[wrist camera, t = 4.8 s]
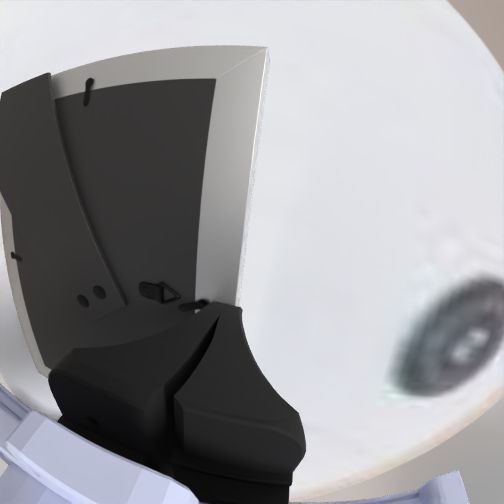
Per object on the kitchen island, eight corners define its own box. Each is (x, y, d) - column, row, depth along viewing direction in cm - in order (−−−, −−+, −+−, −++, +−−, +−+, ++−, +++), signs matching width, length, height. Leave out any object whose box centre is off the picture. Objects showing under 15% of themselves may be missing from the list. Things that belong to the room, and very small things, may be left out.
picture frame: (31, 96, 11) (51, 359, 17) (1, 92, 8) (33, 377, 14) (270, 66, 10) (226, 421, 16) (266, 38, 7) (219, 452, 13)
